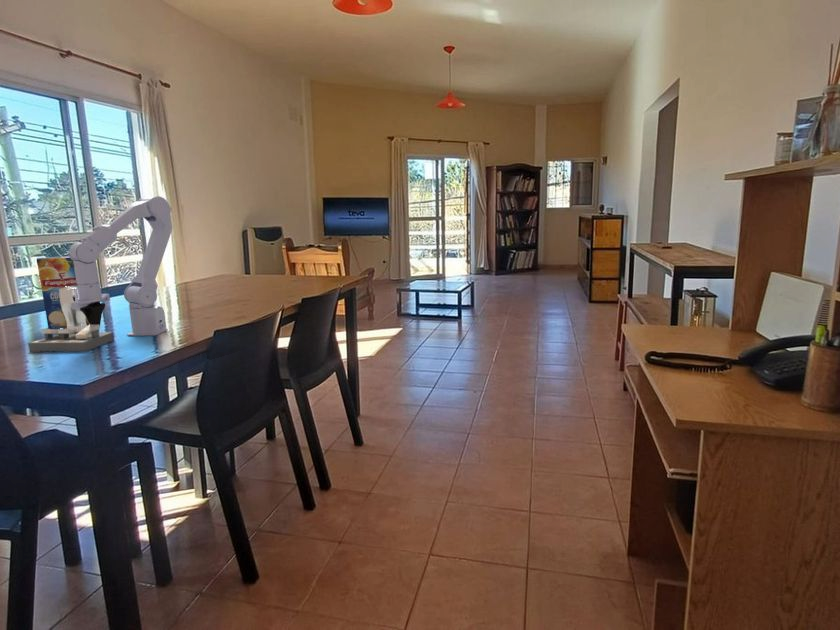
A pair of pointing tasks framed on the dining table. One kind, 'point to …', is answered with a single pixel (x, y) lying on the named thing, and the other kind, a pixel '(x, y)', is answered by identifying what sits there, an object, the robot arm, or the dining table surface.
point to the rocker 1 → (49, 331)
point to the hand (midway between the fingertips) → (95, 328)
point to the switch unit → (70, 342)
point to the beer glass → (72, 316)
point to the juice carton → (55, 287)
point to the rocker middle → (67, 331)
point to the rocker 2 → (86, 331)
